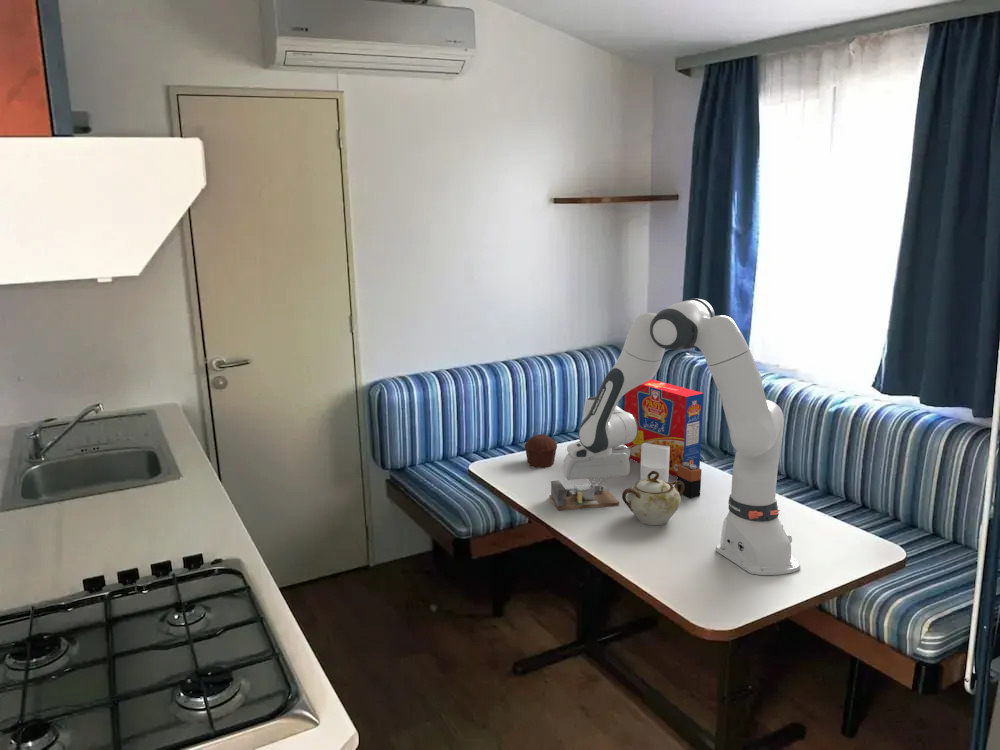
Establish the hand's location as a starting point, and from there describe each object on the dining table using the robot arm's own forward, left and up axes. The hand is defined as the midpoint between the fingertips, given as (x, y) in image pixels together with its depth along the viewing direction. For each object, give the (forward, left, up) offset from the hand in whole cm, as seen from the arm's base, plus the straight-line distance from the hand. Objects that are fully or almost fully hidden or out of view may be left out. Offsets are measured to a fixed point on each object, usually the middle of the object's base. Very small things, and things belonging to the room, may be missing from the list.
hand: (596, 490), depth 246 cm
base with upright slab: (+12, -24, -3) cm, 27 cm away
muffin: (+36, +8, -3) cm, 37 cm away
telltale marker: (-4, +6, -2) cm, 8 cm away
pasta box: (+26, -31, -4) cm, 41 cm away
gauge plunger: (-2, +5, -2) cm, 5 cm away
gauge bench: (0, +4, -3) cm, 5 cm away
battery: (-1, -30, -3) cm, 30 cm away
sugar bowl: (-17, -12, -3) cm, 21 cm away
